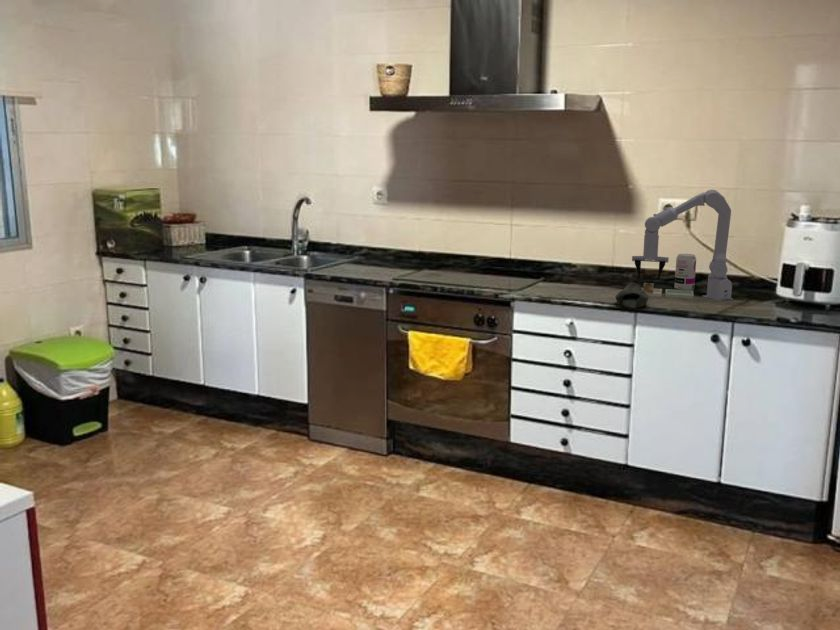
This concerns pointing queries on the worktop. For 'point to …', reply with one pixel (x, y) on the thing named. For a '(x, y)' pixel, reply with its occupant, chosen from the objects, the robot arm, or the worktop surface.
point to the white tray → (655, 293)
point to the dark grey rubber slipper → (632, 296)
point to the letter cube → (648, 287)
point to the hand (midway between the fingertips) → (649, 278)
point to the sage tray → (679, 294)
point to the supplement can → (685, 271)
